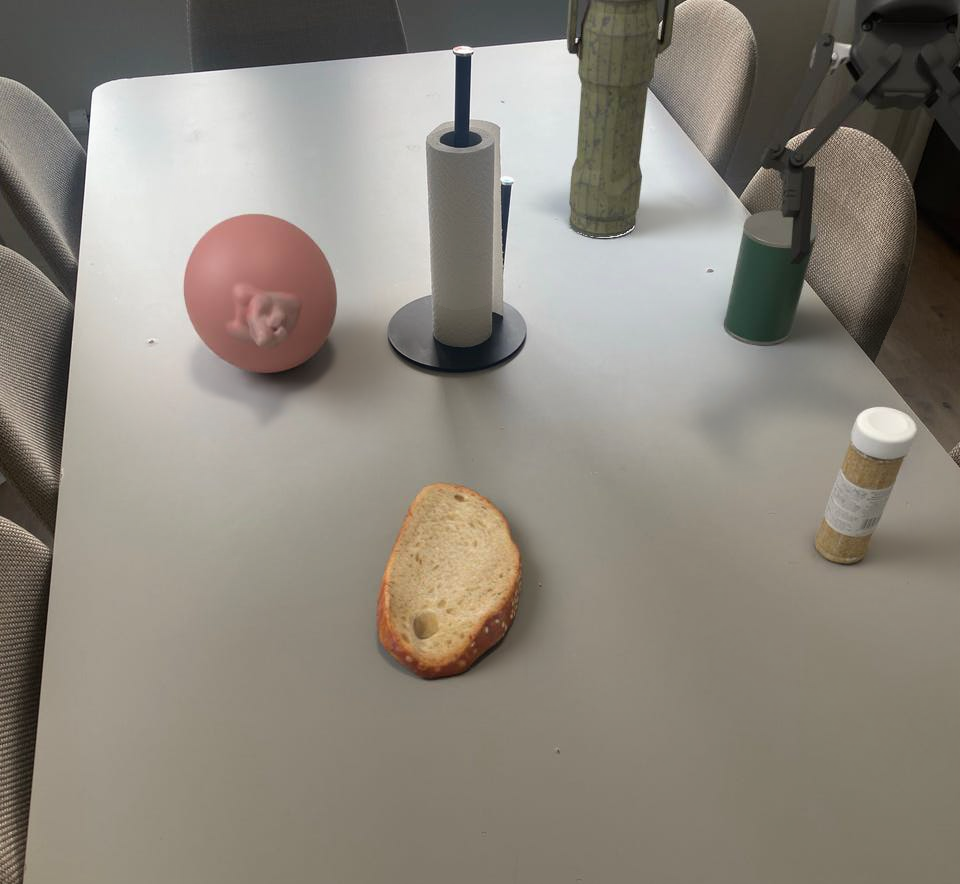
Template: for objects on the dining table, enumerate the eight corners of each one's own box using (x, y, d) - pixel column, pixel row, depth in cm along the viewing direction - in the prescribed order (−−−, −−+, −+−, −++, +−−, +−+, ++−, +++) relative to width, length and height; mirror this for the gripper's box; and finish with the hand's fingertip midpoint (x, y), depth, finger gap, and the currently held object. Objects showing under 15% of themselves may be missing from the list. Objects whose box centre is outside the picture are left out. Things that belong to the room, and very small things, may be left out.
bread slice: (451, 484, 89) (450, 452, 86) (590, 584, 80) (594, 552, 78) (295, 576, 81) (288, 544, 79) (430, 698, 73) (428, 667, 70)
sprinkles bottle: (849, 526, 85) (898, 400, 75) (875, 561, 82) (930, 434, 72) (803, 535, 84) (846, 409, 74) (828, 570, 81) (876, 444, 71)
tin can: (792, 314, 108) (818, 214, 100) (790, 349, 104) (817, 248, 95) (726, 306, 110) (746, 207, 101) (721, 340, 105) (741, 240, 96)
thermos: (656, 235, 121) (702, -106, 95) (566, 243, 120) (587, -100, 93) (637, 204, 127) (676, -126, 100) (551, 211, 126) (567, -120, 99)
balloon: (196, 435, 94) (155, 292, 83) (206, 328, 107) (172, 192, 96) (350, 421, 96) (330, 279, 84) (342, 317, 109) (324, 182, 97)
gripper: (1048, 10, 76) (1024, 280, 77) (734, 4, 77) (717, 271, 79) (1105, -52, 68) (1077, 249, 70) (757, -57, 69) (737, 239, 71)
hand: (886, 261), depth 74 cm, fingers open, 13 cm apart
